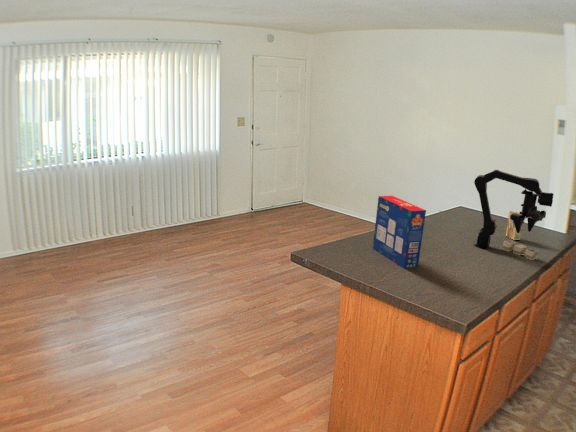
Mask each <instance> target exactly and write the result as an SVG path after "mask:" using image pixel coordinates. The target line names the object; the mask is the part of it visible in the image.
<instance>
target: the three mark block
mask: <svg viewBox="0 0 576 432" xmlns="http://www.w3.org/2000/svg"><path fill="white" fill-rule="evenodd" d="M539 253H540V251H539V250H537V249H533V248H527V249H526V250H525V255H523V257H524V256H526V257H528V258H531V259H533V258H539Z"/></svg>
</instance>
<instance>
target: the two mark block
mask: <svg viewBox="0 0 576 432" xmlns="http://www.w3.org/2000/svg"><path fill="white" fill-rule="evenodd" d="M514 245H517V242H516V241H513V240H511V239H510V240H503V244H502V248H504V249H506V250H509V251H508V252H511V251H510V250H514ZM504 249H503V250H504ZM506 250H505V251H506Z"/></svg>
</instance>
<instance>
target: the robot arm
mask: <svg viewBox="0 0 576 432" xmlns="http://www.w3.org/2000/svg"><path fill="white" fill-rule="evenodd" d="M495 179H498V180H501V181H505V182H507V183H511V184H515V185H518V186H521V187H522V188H523V189H524V190H522V191H520V192H521V195H524V198H523V203H521V204H520V206H521V207H522V208H521V211H519V212H518V213H519V214H517V213H515V214H511V215H510V219H512V220H513V222H514V225H515V228H516V231H517V233H519V232H520V229H521V226H522V227H523V224H524V223H525V220H526V219H527V231H528V233H529V232H531V231H532V229H533V228H534V226H535V225H536V223H538V222H540V221H543V219H545V218H546V215H547V211H545V210H538V207H537V206H536V204H537V203H538V205H539V206H545V207H550V208H551V207H552V206H553V203H554V202H553V201H554V193H553V192H545V191H544V192H543V190H542V189H541V187H540V182H539V179H537V178H532V177H521V176H518V175H515V174H511V173H508V172H504V171H502V170H499V169H494V170H492V171H490V172H488V173H485V174H484V175H483V174H479V175H477V177H475V179H474V181H473V183H474V186H475V189H476V191H477V192H478V195H479V201H480V206H481V210H482V211H481V212H482V217H483V224H482V226H483V227H482V228H481V229H479V232H478V235H477V238H476V239H477V240H476V243H474V244H473V246H475V247H478V248H479V249H481V250H487V249H491V248H492V247H491V246H490V243H491V236H492V235H494V234H495V231H496V229H497V227H498V225H497V221H496V219H497V218H496V219H493V217H492V213H491V208H490V207H491V206H490V201H489V197H488V193H487V191H488V183H490V182H492V181H493V180H495ZM521 214H522V215H521Z"/></svg>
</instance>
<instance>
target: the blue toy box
mask: <svg viewBox="0 0 576 432" xmlns="http://www.w3.org/2000/svg"><path fill="white" fill-rule="evenodd" d="M376 208H377V209H376V216H375V226H374V234H373V241H372V250H374V251H376V252H377V253H379V254H380V255H382V256H384V258H385V257H386V258H387V259H388V260H389V261H391V262H393V263H394V264H396V265H397V266H399V267H401V268H402V269H412V268H413V269H414V268H419V262H420V257H421V256H420V255H421V248H422V240H423V233H424V227H425V219H426V213H427V210H426V209H424V208H422V207H419V206H417V205H414V204H413V203H410V202H409V201H406V200H403V199H401V198H398V197H396V196H394V195H378V198H377V206H376Z"/></svg>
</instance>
